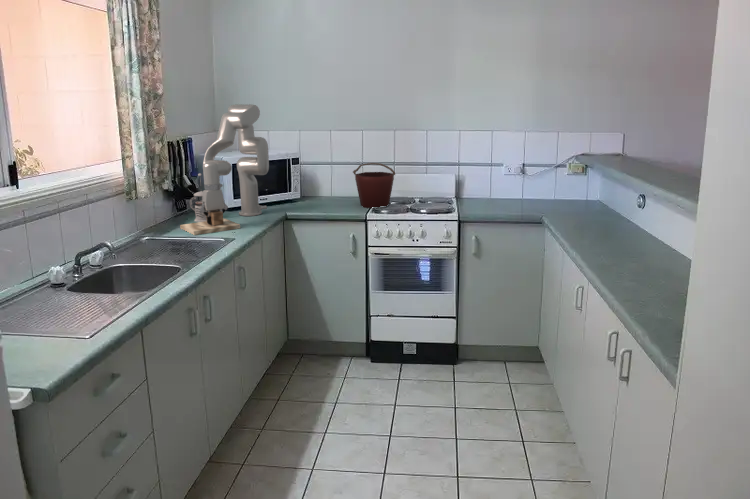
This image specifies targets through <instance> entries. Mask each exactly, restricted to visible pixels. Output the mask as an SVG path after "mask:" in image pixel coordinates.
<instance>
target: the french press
mask: <svg viewBox="0 0 750 499" xmlns="http://www.w3.org/2000/svg"><path fill="white" fill-rule="evenodd" d="M197 176H198V177H201V176H203V174H202V173H198V174H197ZM199 180H200V181H199V182H200V185H202V181H201V178H199ZM202 196H203V190H200V191H198V192H195V193H194V194H193V197H191V198H190V200H189V202H190V204H189V206H190V208H191V209H193V208H194V209H193V211H194V213H195V218H194V220H193V222H195V223H197V222H204V221H207V218H206V215H205V214H203V213H202V212H200V209H201V207H202V200H198V201H195V205H194V206H193V200H196V197H202ZM204 211H205V212H206V210H204Z"/></svg>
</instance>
